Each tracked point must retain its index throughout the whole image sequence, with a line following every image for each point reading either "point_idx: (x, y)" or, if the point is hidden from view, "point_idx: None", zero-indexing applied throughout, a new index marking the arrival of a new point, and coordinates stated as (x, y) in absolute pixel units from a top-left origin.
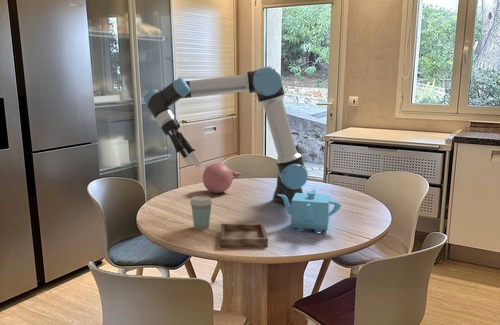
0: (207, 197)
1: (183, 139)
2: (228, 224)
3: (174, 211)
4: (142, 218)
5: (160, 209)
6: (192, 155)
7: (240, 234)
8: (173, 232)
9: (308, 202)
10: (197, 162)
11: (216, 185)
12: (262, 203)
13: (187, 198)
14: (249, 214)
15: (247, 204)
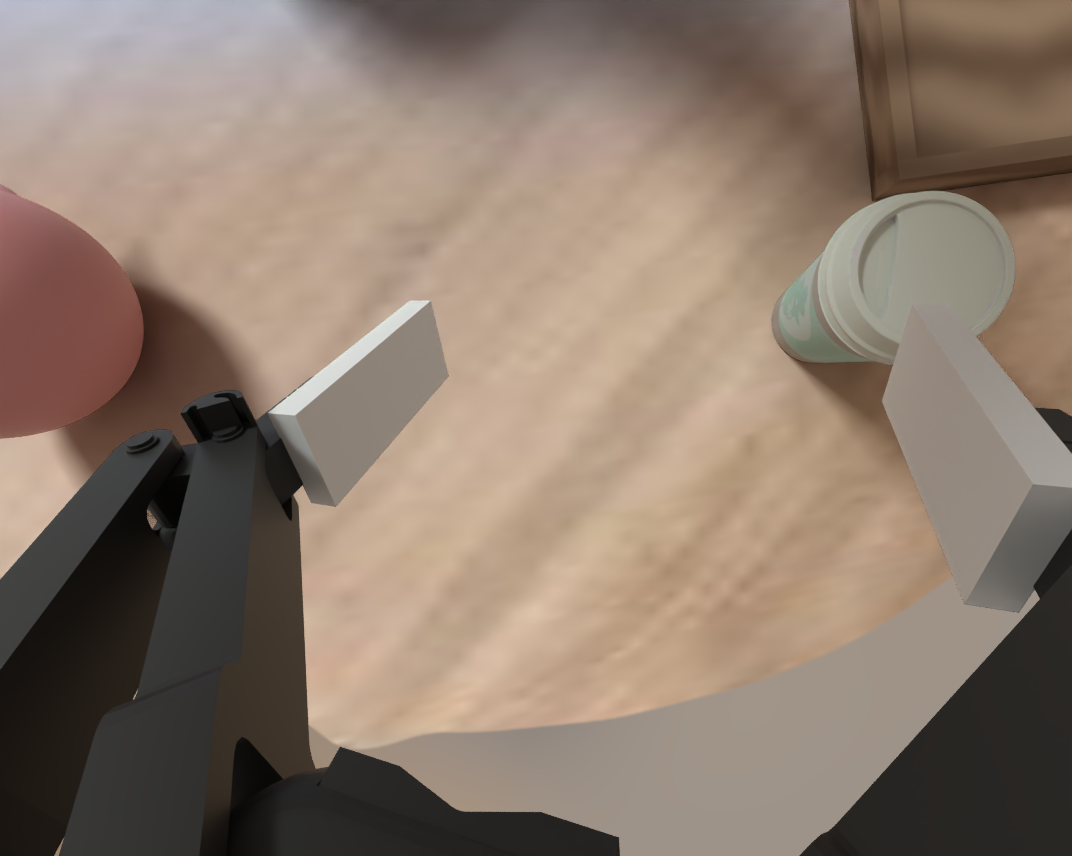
0: (875, 228)
1: (233, 744)
2: (906, 134)
3: (532, 535)
4: (681, 694)
5: (499, 629)
6: (353, 428)
7: (957, 75)
8: None
9: None
10: (421, 352)
11: (128, 315)
12: (321, 19)
13: None
14: (552, 76)
15: (350, 111)
